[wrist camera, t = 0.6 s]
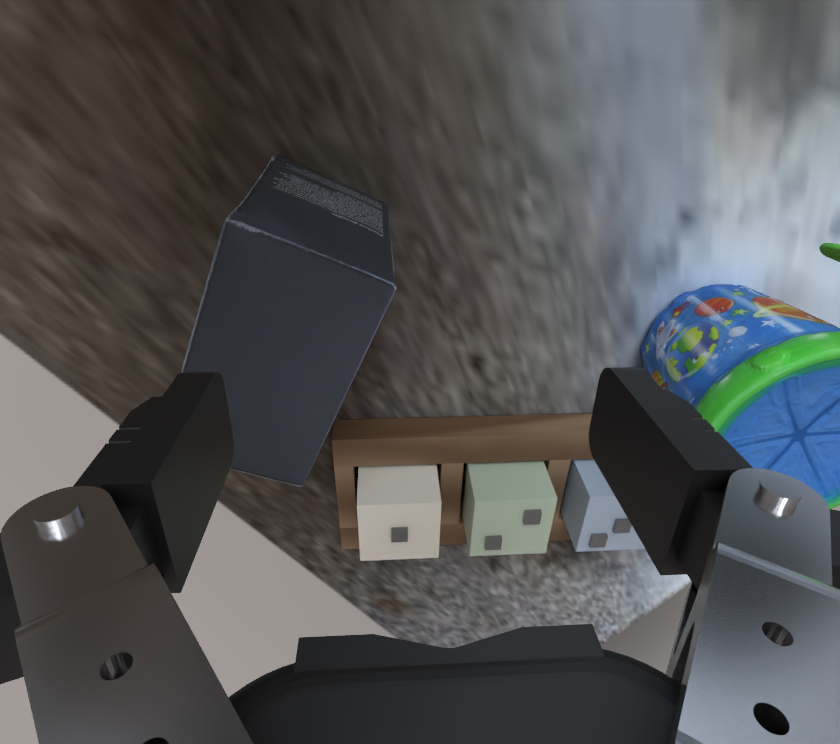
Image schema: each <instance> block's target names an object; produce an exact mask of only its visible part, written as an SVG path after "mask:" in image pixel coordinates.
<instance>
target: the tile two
mask: <svg viewBox="0 0 840 744" xmlns="http://www.w3.org/2000/svg"><path fill="white" fill-rule="evenodd" d="M557 499H558V498H557V495H556V493H555V490H554V487H553V485H552V482H551V479H550V477H549V474H548V471H547V469H546V466H545V464H544V461H513V462H482V463H467V466H466V478H465V489H464V501H463V513H462V516H463V522H464V528H465V533H466V539H467V545H468V551H469V556H488V555H512V554H535V553H546V549H547V545H548V540H549V535H550V531H551V526H552V522H553V517H554V513H555V508H556V503H557Z"/></svg>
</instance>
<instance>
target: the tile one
mask: <svg viewBox="0 0 840 744" xmlns="http://www.w3.org/2000/svg"><path fill="white" fill-rule="evenodd" d="M441 503H442V502H441V494H440V487H439V479H438V472H437V464H419V465H387V466H358V487H357V519H358V534H359V549H360V561H372V560H395V559H418V558H439V540H440V522H441Z"/></svg>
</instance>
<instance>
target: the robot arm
mask: <svg viewBox="0 0 840 744" xmlns="http://www.w3.org/2000/svg"><path fill="white" fill-rule="evenodd" d="M589 446H590V451H591V454H592V457H593V459H594V461H595V462H596V464H597V466H598V467H599V469H600V471H601V473H602V474H603V476H604V478H605V480H606V481H607V483H608V485H609V487H610V488H611V490H612V492H613V493H614V495H615V497H616V499H617V500H618V502H619V504H620V506H621V507H622V509H623V511H624V513H625V514H626V516H627V518H628V519H629V521H630V523H631V525H632V526H633V528H634V530H635V532H636V533H637V535H638V537H639V539H640V540H641V542H642V544H643V545H644V547H645V549H646V551H647V552H648V554H649V556H650V558H651V559H652V561H653V563H654V565H655V566H656V568H657V570H658V572H659V573H660V575H678V574H687V575H688V576H689V578H690V579H691V581H692V582H691V585H690V588H689V591H688V593H687V596H686V600H685V603H684V607H683V611H682V615H681V619H680V622H679V626H678V630H677V634H676V638H675V642H674V645H673V649H672V653H671V657H670V660H669V664H668V668H667V671H666V674H664V673H662V672H660V671H659V670H657V669H655V668H653V667H651V666H649V665H647V664H645V663H643V662H640V661H638V660H635V659H633V658H631V657H629V656H626V655H622V654H619V653H616V652H613V651H609V650H605V649H602V648H601V645H600V643H599V640H598V638H597V635H596V633H595V630H594V628H593V625H592V624H584V625H563V626H541V627H522V628H518V629H515V630H512V631H509V632H505V633H502V634H499V635H496V636H492V637H489V638H486V639H483V640H479V641H476V642H473V643H470V644H466V645H463V646H460V647H456V648H441V647H436V646H431V645H426V644H421V643H415V642H410V641H405V640H400V639H395V638H390V637H385V636H379V635H374V634H368V635H346V636H325V637H303V638H299V642H298V649H297V655H296V662H295V663H294V664H290V665H288V666H285V667H281V668H279V669H277V670H275V671H272V672H270V673H267V674H265V675H263V676H261V677H260V678H258V679H256V680H254V681H252V682H251V683H249V684H247V685H246V686H245V687H243V688H241V689H240V690H238V691H237V692H235V693H234V694H233V695H231V696H230V697H229V698H228V696H227V694H226V693H225V691H224V689H223V687H222V685H221V683H220V682H219V680H218V678H217V676H216V674H215V673H214V671H213V669H212V667H211V665H210V663H209V662H208V660H207V658H206V656H205V654H204V652H203V651H202V649H201V647H200V645H199V643H198V641H197V640H196V638H195V636H194V634H193V633H192V631H191V629H190V627H189V625H188V623H187V622H186V620H185V618H184V616H183V614H182V612H181V610H180V609H179V607H178V605H177V603H176V601H175V600H174V598H173V596H172V594H171V593H181V591H182V588H183V586H184V583H185V581H186V578H187V576H188V573H189V570H190V568H191V565H192V563H193V560H194V558H195V555H196V552H197V550H198V548H199V545H200V543H201V540H202V537H203V535H204V532H205V530H206V527H207V525H208V522H209V520H210V517H211V515H212V512H213V510H214V507H215V505H216V502H217V500H218V497H219V495H220V492H221V490H222V487H223V484H224V482H225V479H226V477H227V474H228V472H229V469H230V467H231V464H232V459H233V451H234V440H233V432H232V426H231V421H230V415H229V409H228V403H227V397H226V392H225V386H224V381H223V378H222V376H221V374H220V373H219V372H188V373H179V374H178V375H177V377H176V378H175V380H174V381H173V383H172V384H171V385H170V387H169V388H168V390H167V391H166V392H165V394H164V395H163V397H152V398H150V399H149V400H147V401H146V402H144V403H143V404H141V405H140V406H138V407H136V408H135V409H133V410H132V411H131V412H130V413H129V415H128V416H127V417H126V419H125V420H124V421H123V422H122V424H121V425H120V426H119V430H116V432H115V433H114V434H113V435H112V437H111V438H110V439H109V444H105V446H104V447H103V449H102V450H101V451H100V452H99V454H98V455H97V456H96V457H95V459H94V460H93V461H92V463H91V464H90V465H89V467H88V468H87V469H86V471H85V472H84V473H83V475H82V476H81V477H80V478H79V479H78V481H77V482H76V483H75V485H74V486H73V487H68V488H63V489H59V490H56V491H53V492H50V493H47V494H45V495H43V496H40V497H38V498H36V499H35V500H32V501H30V502H29V503H27V504H26V505H24V506H23V507H21V508H20V509H19V510H17V511H16V512H15V513H14V514H13V515H12V516H11V517H10V518H9V519H8V520H7V522H6V523H5V525H4V526H3V528H2V531H1V533H0V684H2V683H5V682H8V681H11V680H15V679H18V678H20V677H24V679H25V684H26V688H27V692H28V697H29V702H30V706H31V711H32V714H33V719H34V724H35V728H36V732H37V737H38V742H39V744H840V511H837V510H831V509H829V507H828V505H827V503H826V501H825V500H824V499H823V498H822V497H821V496H820V495H819V494H818V493H817V492H816V491H815V490H813V489H812V488H811V487H809V486H808V485H806V484H804V483H803V482H801V481H799V480H797V479H795V478H793V477H790V476H788V475H785V474H782V473H779V472H776V471H772V470H767V469H760V468H753V467H752V466H751V465H750V464H749V463H748V462H747V461H746V460H745V459H744V458H743V457H742V456H741V455H740V454H739V453H738V452H737V451H736V450H735V449H734V448H733V447H732V446H731V445H730V444H729V443H728V442H727V441H726V440H725V439H724V437H723V436H722V435H721V434H720V433H719V432H715V428H714V427H713V426H712V425H711V424H710V423H709V422H708V421H707V420H706V419H703V416H702V415H701V414H700V413H699V412H698V411H697V410H696V409H695V408H694V407H693V406H692V405H691V404H690V403H689V402H688V401H686V400H684V399H683V398H681V397H679V396H677V395H676V394H674V393H672V392H670V391H669V390H667V389H662V388H661V387H660V386H659V385H658V383H657V382H656V381H655V380H654V379H653V378H652V377H651V376H650V375H649V374H648V373H647V372H646V371H645V370H644V369H643V368H640V367H632V368H605V369H604V370H603V371H602V373H601V375H600V378H599V383H598V388H597V393H596V398H595V403H594V408H593V413H592V418H591V423H590V428H589Z"/></svg>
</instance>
